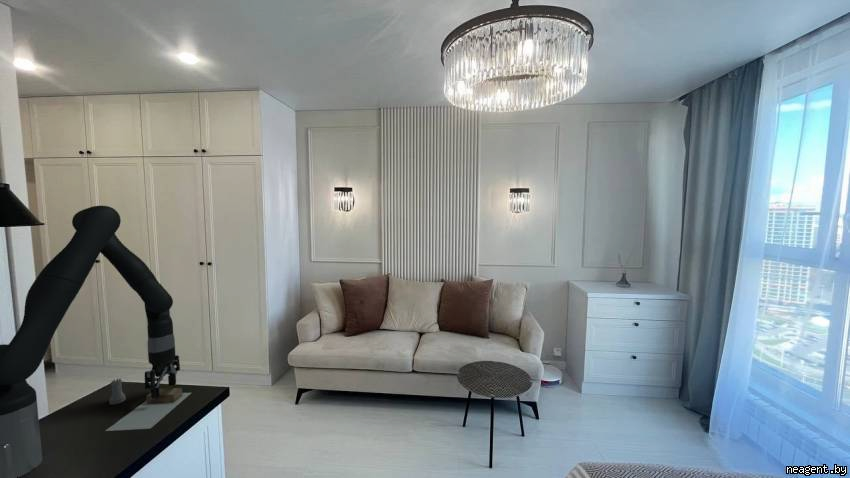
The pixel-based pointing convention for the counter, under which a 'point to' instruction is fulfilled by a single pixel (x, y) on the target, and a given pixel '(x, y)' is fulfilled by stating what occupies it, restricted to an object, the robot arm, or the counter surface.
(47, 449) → the counter surface
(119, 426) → the grey mat
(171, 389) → the brown rectangular block
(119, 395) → the rook chess piece
